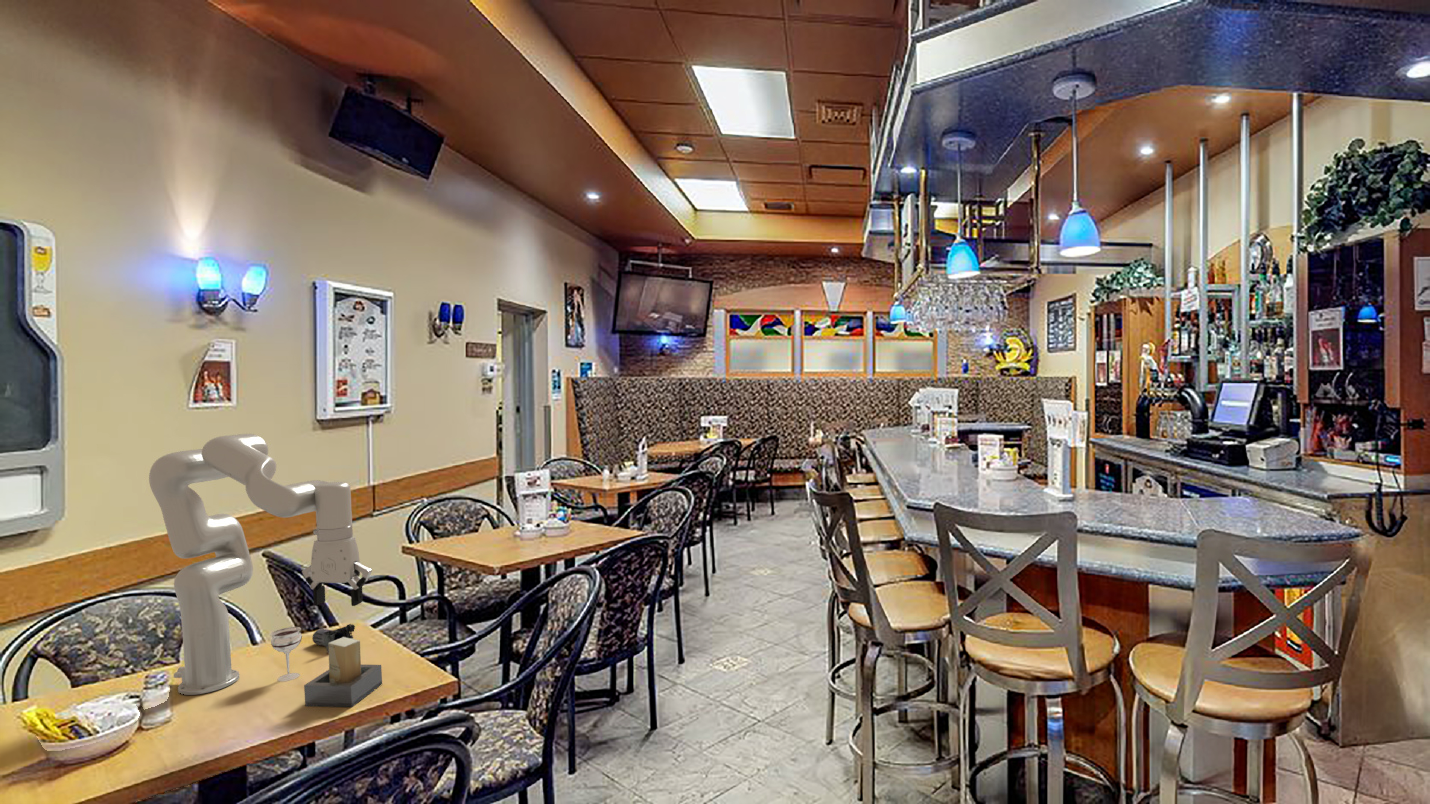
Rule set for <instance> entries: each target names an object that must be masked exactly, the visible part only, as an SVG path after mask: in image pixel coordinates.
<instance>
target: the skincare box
mask: <svg viewBox="0 0 1430 804" xmlns="http://www.w3.org/2000/svg"><path fill="white" fill-rule="evenodd" d="M328 647H329V653H328V670H329V678H330V683H350V682H352V681H353V680H354V679H356V678H357V677H359V676H360V675H361V665H362V662H361V661H362V660H361V658H362V657H361V641H360V640H359V639H354V638H353V639H351V638H346V637H342V638H340V639H337V640H334V641H332V642H329V643H328Z"/></svg>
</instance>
